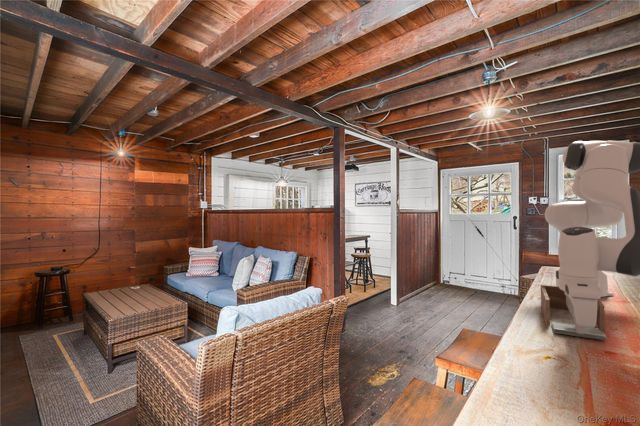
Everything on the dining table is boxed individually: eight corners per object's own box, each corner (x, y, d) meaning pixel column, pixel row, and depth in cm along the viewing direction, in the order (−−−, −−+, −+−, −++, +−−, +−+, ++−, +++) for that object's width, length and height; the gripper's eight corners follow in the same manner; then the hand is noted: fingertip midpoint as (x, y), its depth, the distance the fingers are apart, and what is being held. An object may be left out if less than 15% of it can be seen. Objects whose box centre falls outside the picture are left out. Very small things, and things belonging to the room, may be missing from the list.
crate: (541, 306, 114) (540, 285, 114) (590, 311, 107) (589, 289, 107) (546, 324, 97) (545, 299, 97) (605, 332, 90) (604, 305, 90)
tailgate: (551, 321, 96) (554, 328, 90) (599, 328, 90) (606, 336, 83) (551, 325, 96) (554, 332, 90) (599, 332, 90) (606, 340, 83)
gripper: (559, 275, 97) (560, 318, 97) (570, 291, 80) (571, 343, 80) (585, 277, 94) (586, 321, 94) (602, 294, 76) (603, 349, 77)
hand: (579, 332), depth 87 cm, fingers closed, pressing on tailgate
